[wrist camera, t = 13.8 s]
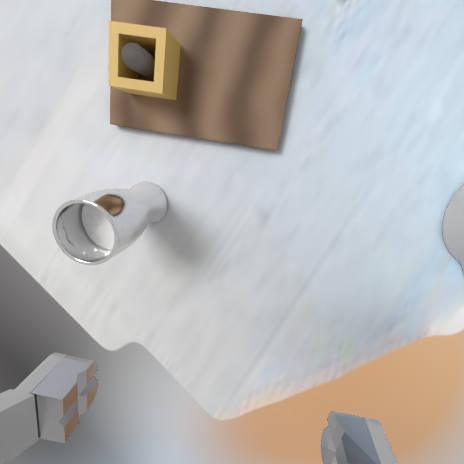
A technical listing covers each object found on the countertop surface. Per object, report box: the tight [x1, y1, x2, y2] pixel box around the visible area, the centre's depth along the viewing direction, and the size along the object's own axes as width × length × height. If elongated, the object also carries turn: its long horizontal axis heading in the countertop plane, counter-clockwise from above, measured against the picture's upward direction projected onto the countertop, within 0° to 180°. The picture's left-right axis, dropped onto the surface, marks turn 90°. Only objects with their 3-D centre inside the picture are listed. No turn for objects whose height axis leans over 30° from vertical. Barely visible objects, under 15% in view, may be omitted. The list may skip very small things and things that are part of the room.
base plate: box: [110, 0, 303, 150], centre depth 31 cm, size 22×14×8 cm, turn 82°
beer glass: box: [53, 182, 168, 265], centre depth 34 cm, size 7×7×15 cm
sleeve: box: [109, 21, 181, 100], centre depth 31 cm, size 6×6×5 cm
